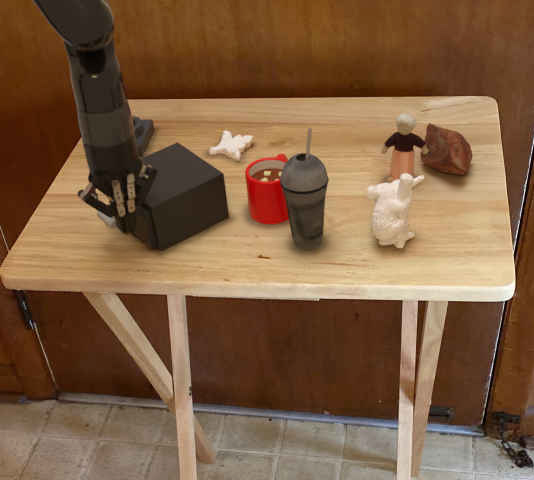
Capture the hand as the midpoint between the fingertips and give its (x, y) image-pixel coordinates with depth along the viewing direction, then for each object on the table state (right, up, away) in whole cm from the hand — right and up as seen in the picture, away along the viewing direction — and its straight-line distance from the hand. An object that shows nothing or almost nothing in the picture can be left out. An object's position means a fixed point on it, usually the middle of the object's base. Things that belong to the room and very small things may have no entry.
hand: (127, 231), depth 127 cm
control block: (-5, +20, +29) cm, 36 cm away
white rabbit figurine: (+42, -2, +1) cm, 42 cm away
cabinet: (+6, +4, +10) cm, 12 cm away
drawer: (+3, +2, +8) cm, 9 cm away
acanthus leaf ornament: (+15, +18, +25) cm, 34 cm away
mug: (+23, +6, +11) cm, 26 cm away
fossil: (+53, +13, +15) cm, 56 cm away
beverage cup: (+28, -2, +2) cm, 28 cm away
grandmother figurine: (+45, +10, +13) cm, 48 cm away
